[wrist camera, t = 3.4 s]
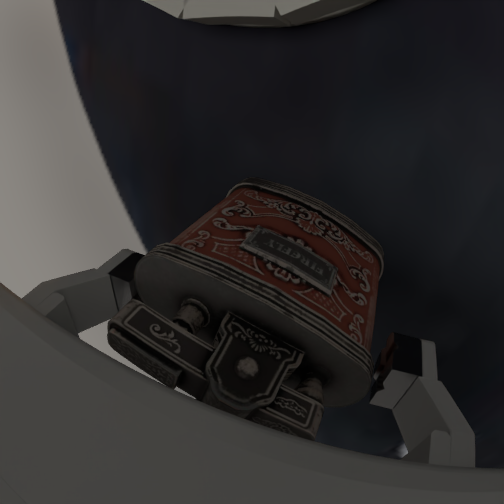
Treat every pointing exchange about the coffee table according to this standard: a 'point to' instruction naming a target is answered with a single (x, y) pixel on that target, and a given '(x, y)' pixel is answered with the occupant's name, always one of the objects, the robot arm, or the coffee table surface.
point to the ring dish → (259, 11)
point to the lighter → (259, 308)
